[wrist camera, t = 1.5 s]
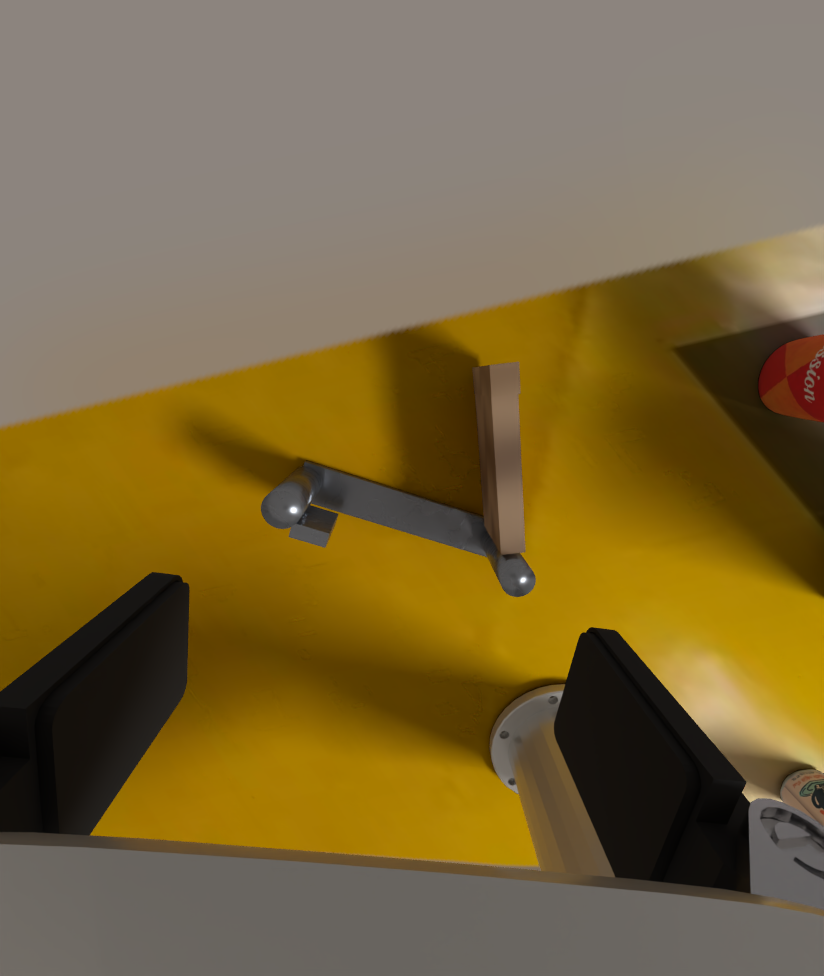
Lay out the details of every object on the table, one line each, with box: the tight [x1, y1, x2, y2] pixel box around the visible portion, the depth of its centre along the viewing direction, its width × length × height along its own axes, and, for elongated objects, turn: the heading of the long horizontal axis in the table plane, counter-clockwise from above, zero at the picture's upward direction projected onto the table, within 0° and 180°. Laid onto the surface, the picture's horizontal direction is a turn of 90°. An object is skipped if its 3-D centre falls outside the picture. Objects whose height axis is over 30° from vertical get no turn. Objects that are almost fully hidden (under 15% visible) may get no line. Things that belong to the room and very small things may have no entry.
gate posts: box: [261, 460, 535, 597], centre depth 30 cm, size 18×4×8 cm, turn 71°
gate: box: [473, 362, 525, 555], centre depth 28 cm, size 12×2×6 cm, turn 6°
